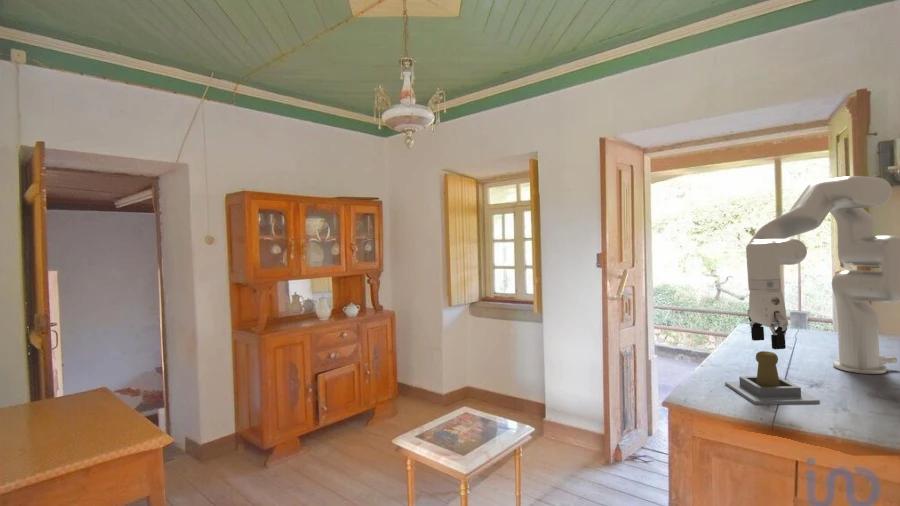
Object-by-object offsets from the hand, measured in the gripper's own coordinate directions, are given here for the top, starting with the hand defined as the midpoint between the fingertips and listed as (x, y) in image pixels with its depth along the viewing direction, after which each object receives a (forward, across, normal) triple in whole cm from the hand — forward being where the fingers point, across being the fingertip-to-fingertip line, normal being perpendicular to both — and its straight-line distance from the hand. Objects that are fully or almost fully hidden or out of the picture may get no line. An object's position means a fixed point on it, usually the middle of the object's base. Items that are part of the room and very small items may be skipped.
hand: (768, 344), depth 124 cm
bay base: (+14, 0, +1) cm, 14 cm away
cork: (+13, 0, +1) cm, 13 cm away
